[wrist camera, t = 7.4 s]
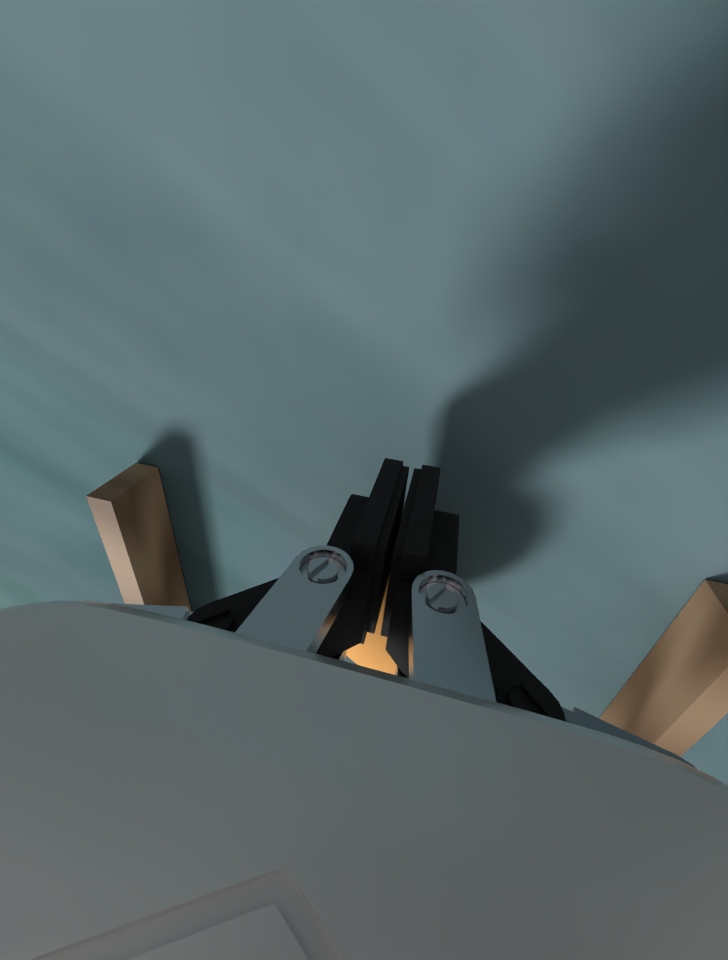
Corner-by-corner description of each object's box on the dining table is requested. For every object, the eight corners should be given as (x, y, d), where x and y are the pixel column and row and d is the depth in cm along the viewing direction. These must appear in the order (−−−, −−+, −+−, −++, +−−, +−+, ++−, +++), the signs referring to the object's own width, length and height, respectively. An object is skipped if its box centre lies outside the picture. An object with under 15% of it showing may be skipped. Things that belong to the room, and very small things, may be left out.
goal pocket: (136, 462, 16) (74, 503, 14) (739, 586, 13) (803, 671, 10) (189, 666, 24) (156, 716, 21) (578, 777, 20) (593, 853, 18)
